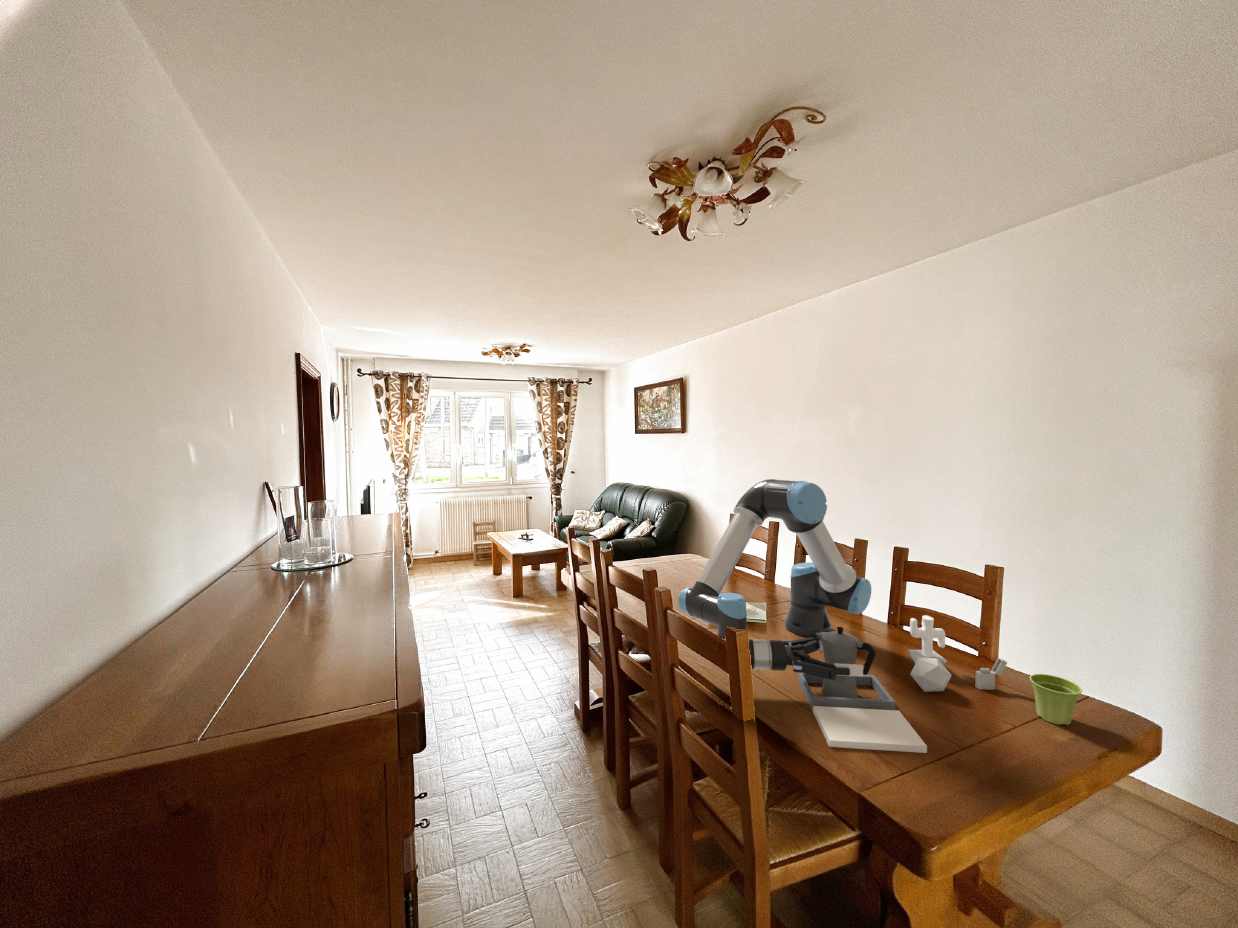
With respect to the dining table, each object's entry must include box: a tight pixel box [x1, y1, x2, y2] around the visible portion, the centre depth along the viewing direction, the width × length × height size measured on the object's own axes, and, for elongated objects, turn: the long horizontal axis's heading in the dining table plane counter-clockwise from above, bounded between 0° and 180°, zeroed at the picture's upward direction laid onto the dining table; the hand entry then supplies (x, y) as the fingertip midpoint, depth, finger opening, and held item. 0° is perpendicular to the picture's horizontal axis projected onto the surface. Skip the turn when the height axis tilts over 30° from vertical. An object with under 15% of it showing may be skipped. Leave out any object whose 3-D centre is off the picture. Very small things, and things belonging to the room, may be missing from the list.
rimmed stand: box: [797, 672, 897, 710], centre depth 131 cm, size 14×20×2 cm
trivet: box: [812, 706, 928, 754], centre depth 115 cm, size 14×20×2 cm
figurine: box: [908, 614, 948, 666], centre depth 146 cm, size 7×9×15 cm
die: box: [909, 658, 952, 693], centre depth 134 cm, size 8×9×10 cm
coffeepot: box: [815, 626, 877, 698], centre depth 130 cm, size 15×9×18 cm, turn 43°
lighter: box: [974, 657, 1008, 691], centre depth 133 cm, size 7×2×8 cm, turn 87°
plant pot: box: [1029, 673, 1083, 726], centre depth 119 cm, size 9×9×9 cm
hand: (853, 658), depth 130 cm, fingers open, 13 cm apart
